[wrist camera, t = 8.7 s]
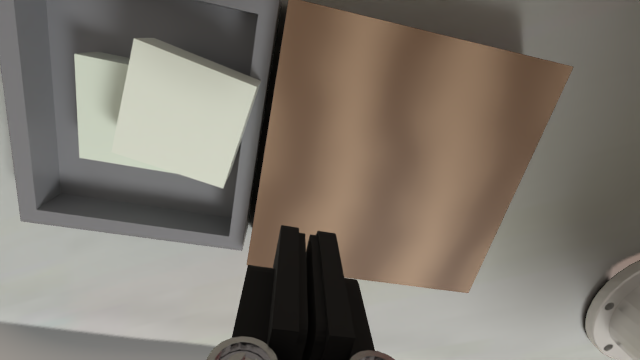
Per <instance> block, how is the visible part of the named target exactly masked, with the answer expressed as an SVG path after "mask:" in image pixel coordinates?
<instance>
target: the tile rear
mask: <svg viewBox="0 0 640 360" xmlns="http://www.w3.org/2000/svg"><path fill="white" fill-rule="evenodd" d="M129 60H130V58H127V57H122V56H117V55H112V54H108V53H103V52H88V53H76V54H74V61H75V81H76V101H77V121H78V141H79V158H84V159H90V160H96V161H102V162H108V163H114V164H120V165H126V166H132V167H138V168H145V169H151V170H157V171H163V172H169V173H174V172H171V171H168V170H165V169H161V168H158V167H155V166H152V165H149V164H146V163H143V162H140V161H137V160H134V159H131V158H128V157H125V156H122V155H118V154H115V153H112V152H111V151H112V146H113V141H114V136H115V131H116V126H117V121H118V116H119V111H120V106H121V101H122V96H123V91H124V85H125V80H126V75H127V70H128V65H129ZM175 174H177V173H175Z"/></svg>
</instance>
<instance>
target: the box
mask: <svg viewBox="0 0 640 360" xmlns="http://www.w3.org/2000/svg"><path fill="white" fill-rule="evenodd" d="M281 4H282V2H281V0H0V65H1V73H2V81H3V88H4V96H5V104H6V111H7V119H8V127H9V134H10V142H11V150H12V157H13V165H14V173H15V180H16V188H17V196H18V203H19V211H20V219H21V221H23V222H31V223H38V224H46V225H53V226H61V227H68V228H76V229H83V230H91V231H98V232H106V233H113V234H121V235H128V236H136V237H143V238H151V239H158V240H166V241H173V242H181V243H188V244H196V245H203V246H211V247H218V248H226V249H233V250H241V251H242V249H243V245H244V241H245V236H246V232H247V228H248V221H249V215H250V208H251V201H252V195H253V188H254V182H255V175H256V168H257V162H258V155H259V149H260V142H261V135H262V129H263V122H264V116H265V109H266V103H267V96H268V89H269V83H270V76H271V70H272V63H273V56H274V50H275V43H276V37H277V30H278V23H279V17H280V10H281ZM134 38H156V39H158V40H161V41H163V42H166V43H168V44H171V45H173V46H176V47H178V48H181V49H183V50H185V51H188V52H190V53H193V54H195V55H198V56H200V57H203V58H205V59H208V60H210V61H213V62H215V63H218V64H220V65H223V66H225V67H228V68H230V69H233V70H235V71H238V72H240V73H243V74H245V75H248V76H250V77H253V78H255V79H258V80H260V81H261V83H260V86H259V89H258V92H257V95H256V98H255V101H254V104H253V107H252V110H251V113H250V116H249V119H248V122H247V125H246V128H245V131H244V134H243V137H242V140H241V143H240V146H239V149H238V151H237V154H236V157H235V160H234V163H233V166H232V169H231V172H230V174H229V177H228V179H227V181H226V183H225V185H224V188H220V187H217V186H214V185H211V184H208V183H204V182H201V181H198V180H195V179H192V178H189V177H186V176H183V175H180V174H175V173H169V172H163V171H157V170H151V169H145V168H138V167H132V166H126V165H120V164H114V163H108V162H102V161H96V160H90V159H84V158H79V141H78V121H77V101H76V81H75V61H74V54H76V53H88V52H103V53H108V54H112V55H117V56H122V57H127V58H130V55H131V50H132V45H133V40H134Z"/></svg>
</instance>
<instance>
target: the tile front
mask: <svg viewBox="0 0 640 360" xmlns="http://www.w3.org/2000/svg"><path fill="white" fill-rule="evenodd" d="M260 83H261V81H260V80H258V79H255V78H253V77H250V76H248V75H245V74H243V73H240V72H238V71H235V70H233V69H230V68H228V67H225V66H223V65H220V64H218V63H215V62H213V61H210V60H208V59H205V58H203V57H200V56H198V55H195V54H193V53H190V52H188V51H185V50H183V49H181V48H178V47H176V46H173V45H171V44H168V43H166V42H163V41H161V40H158V39H156V38H134V40H133V45H132V50H131V55H130V60H129V65H128V70H127V75H126V80H125V85H124V91H123V96H122V101H121V106H120V111H119V116H118V121H117V126H116V131H115V136H114V141H113V146H112V151H111V152H112V153H115V154H118V155H122V156H125V157H128V158H131V159H134V160H137V161H140V162H143V163H146V164H149V165H152V166H155V167H158V168H161V169H165V170H168V171H171V172H174V173H177V174H180V175H183V176H186V177H189V178H192V179H195V180H198V181H201V182H204V183H208V184H211V185H214V186H217V187H220V188H224V185H225V183H226V181H227V179H228V177H229V174H230V172H231V169H232V166H233V163H234V160H235V157H236V154H237V151H238V149H239V146H240V143H241V140H242V137H243V134H244V131H245V128H246V125H247V122H248V119H249V116H250V113H251V110H252V107H253V104H254V101H255V98H256V95H257V92H258V89H259V86H260Z"/></svg>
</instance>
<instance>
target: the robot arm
mask: <svg viewBox="0 0 640 360" xmlns="http://www.w3.org/2000/svg"><path fill="white" fill-rule="evenodd" d="M585 329H586V332H587V336H588V338H589V339H590V341H591V342H592V344H593V345H594V346H595V347H596V348H597V349H598V350H599V351H600V352H602V353H603V354H605V355H606V356H608V357H610V358H614V359H617V360H640V260H639V261H637V262H635V263H633V264H631V265H629V266H628V267H626V268H625V269H623V270H622V271H620V272H619V273H617V274H616V275H615V276H614V277H613V278H611V279H610V280H609V281H608V282H607V283H606V284H605V285H604V286H603V287H602V288H601V289H600V290H599V292H598V293H597V295H596V296H595V298H594V299H593V300H592V303H591V305H590V307H589V309H588V312H587V316H586V320H585ZM206 360H395V359H393V358H392V357H390V356H389V355H387V354H384V353H381V352H379V351H375V349H374V345H373V341H372V337H371V333H370V329H369V325H368V321H367V316H366V312H365V308H364V304H363V300H362V296H361V292H360V288H359V284H358V281H357V280H355V279H348V278H344V274H343V268H342V263H341V258H340V253H339V247H338V242H337V237H336V234H335V233H330V232H323V231H317V233H316V235H312V234H310V236H309V240H308V245H307V249H306V239H305V233H299V228H297V227H291V226H284V225H281V228H280V233H279V238H278V243H277V248H276V254H275V259H274V264H273V268H268V267H261V266H253V265H248V268H247V272H246V277H245V281H244V286H243V290H242V295H241V299H240V304H239V308H238V313H237V317H236V322H235V326H234V331H233V335H232V338H230V339H228V340H225V341H223V342H221V343H220V344H219V345H217V346H216V347H215V348H214V349H213V350H212V351H211V353H210V354H209V356H208V357H207V359H206Z"/></svg>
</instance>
